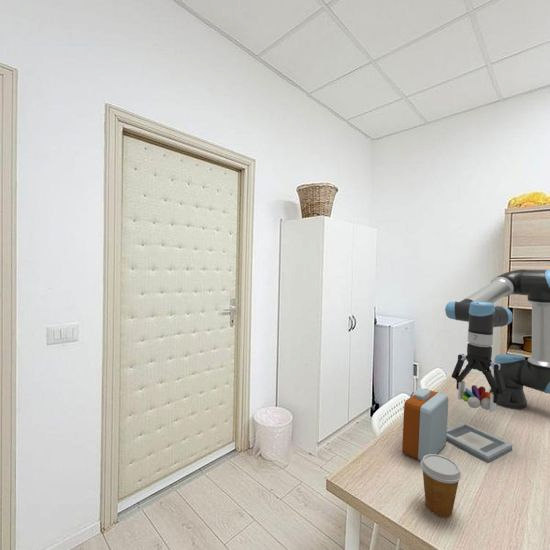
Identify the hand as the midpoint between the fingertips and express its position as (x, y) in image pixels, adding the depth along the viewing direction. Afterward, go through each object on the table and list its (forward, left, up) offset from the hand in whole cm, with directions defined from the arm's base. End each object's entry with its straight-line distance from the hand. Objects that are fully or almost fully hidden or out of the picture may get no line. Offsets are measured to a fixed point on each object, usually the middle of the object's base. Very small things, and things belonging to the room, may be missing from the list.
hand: (476, 404), depth 113 cm
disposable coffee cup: (+41, +13, -15) cm, 45 cm away
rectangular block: (+20, -6, -15) cm, 25 cm away
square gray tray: (0, 0, -15) cm, 15 cm away
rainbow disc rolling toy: (0, 0, -1) cm, 1 cm away
